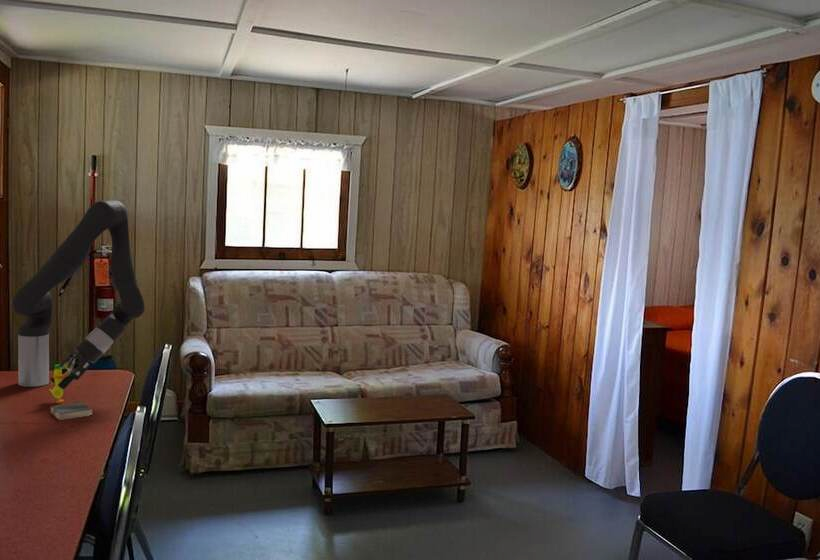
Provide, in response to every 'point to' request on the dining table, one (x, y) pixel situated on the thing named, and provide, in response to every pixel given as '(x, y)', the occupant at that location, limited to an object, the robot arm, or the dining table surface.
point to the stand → (71, 411)
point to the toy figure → (57, 377)
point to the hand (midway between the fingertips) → (56, 384)
